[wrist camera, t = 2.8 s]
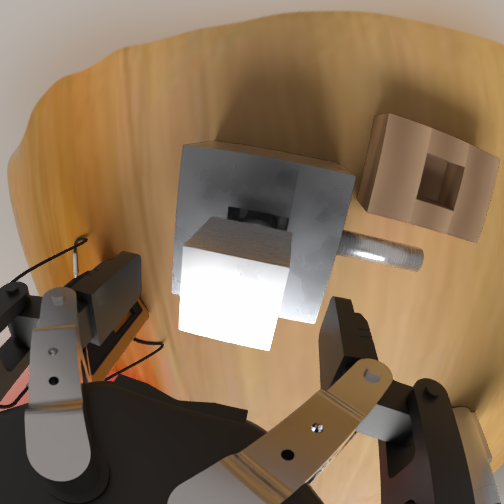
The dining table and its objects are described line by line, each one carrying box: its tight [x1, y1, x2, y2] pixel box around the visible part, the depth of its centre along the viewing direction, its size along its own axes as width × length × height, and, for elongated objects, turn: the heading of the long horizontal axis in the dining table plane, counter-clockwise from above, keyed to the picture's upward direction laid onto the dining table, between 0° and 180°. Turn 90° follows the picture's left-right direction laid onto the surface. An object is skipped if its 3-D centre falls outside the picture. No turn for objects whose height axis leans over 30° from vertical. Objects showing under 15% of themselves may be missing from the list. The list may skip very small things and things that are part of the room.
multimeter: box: [0, 238, 164, 409], centre depth 22 cm, size 15×10×20 cm
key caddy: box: [357, 113, 500, 243], centre depth 20 cm, size 10×7×4 cm
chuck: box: [172, 141, 424, 324], centre depth 21 cm, size 17×10×7 cm, turn 81°
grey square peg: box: [179, 210, 292, 351], centre depth 17 cm, size 4×4×12 cm
